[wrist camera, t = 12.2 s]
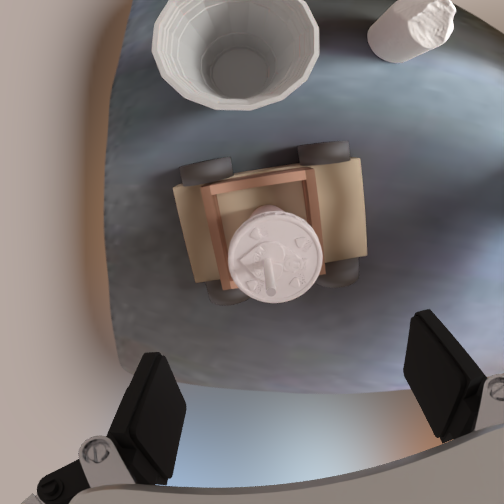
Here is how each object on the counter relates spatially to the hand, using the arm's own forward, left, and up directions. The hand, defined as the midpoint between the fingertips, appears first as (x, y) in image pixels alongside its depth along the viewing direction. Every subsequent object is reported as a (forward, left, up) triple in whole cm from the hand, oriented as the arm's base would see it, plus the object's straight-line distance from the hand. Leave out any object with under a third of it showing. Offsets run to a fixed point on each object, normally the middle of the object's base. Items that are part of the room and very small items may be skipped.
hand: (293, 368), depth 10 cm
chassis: (-1, 0, -22) cm, 22 cm away
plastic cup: (0, -15, -23) cm, 27 cm away
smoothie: (0, 0, -20) cm, 20 cm away
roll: (-17, -18, -23) cm, 33 cm away
